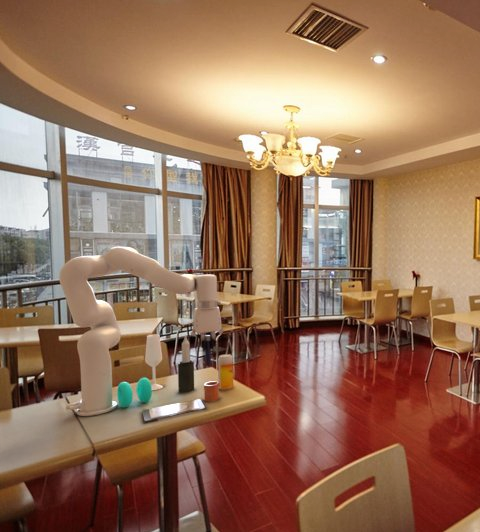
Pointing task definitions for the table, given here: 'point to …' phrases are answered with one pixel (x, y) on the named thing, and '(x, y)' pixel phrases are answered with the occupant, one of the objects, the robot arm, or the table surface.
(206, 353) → the marker
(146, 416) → the tablet
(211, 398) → the pen cup
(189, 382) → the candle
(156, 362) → the champagne flute
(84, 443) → the table surface
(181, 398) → the table surface
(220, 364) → the beer glass
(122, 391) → the pair of turquoise ovals
